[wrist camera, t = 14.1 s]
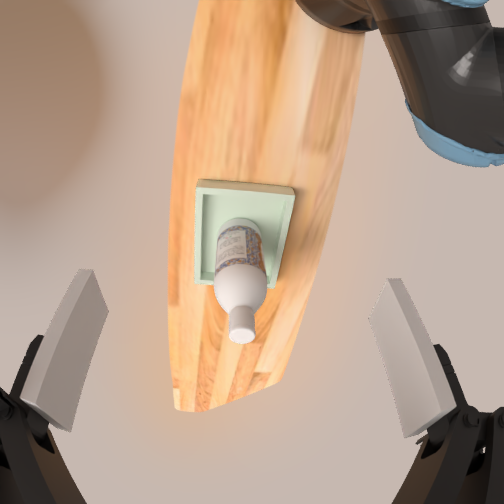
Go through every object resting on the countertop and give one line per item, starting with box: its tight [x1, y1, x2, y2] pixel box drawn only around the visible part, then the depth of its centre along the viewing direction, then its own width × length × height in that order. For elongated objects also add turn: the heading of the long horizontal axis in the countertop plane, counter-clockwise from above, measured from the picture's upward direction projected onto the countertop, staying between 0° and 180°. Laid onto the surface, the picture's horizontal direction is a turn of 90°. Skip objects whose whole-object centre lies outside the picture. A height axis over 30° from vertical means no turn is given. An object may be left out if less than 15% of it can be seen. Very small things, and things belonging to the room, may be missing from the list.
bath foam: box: [214, 218, 267, 344], centre depth 39 cm, size 7×7×20 cm
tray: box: [194, 179, 295, 289], centre depth 47 cm, size 18×14×3 cm
